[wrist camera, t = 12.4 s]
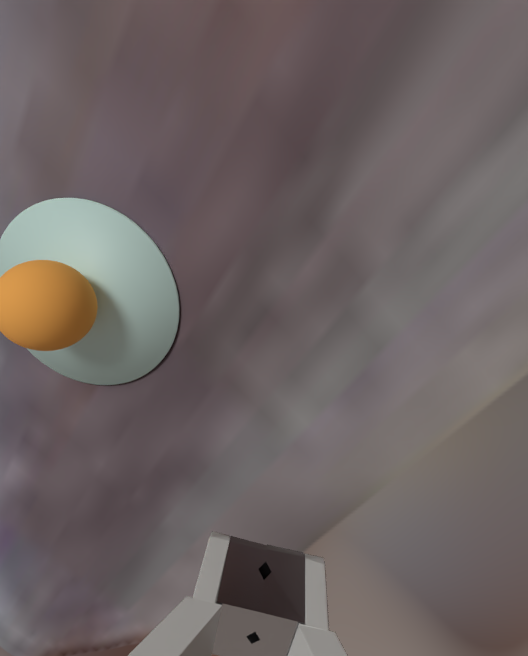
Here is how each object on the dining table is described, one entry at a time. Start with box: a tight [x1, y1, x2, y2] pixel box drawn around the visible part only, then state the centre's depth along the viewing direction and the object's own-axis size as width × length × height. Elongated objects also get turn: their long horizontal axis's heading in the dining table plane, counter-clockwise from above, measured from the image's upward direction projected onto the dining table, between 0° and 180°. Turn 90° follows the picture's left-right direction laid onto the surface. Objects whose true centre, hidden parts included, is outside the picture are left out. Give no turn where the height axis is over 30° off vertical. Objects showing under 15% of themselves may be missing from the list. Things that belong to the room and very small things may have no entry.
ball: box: [0, 260, 98, 351], centre depth 21 cm, size 6×6×6 cm
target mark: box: [0, 198, 180, 385], centre depth 24 cm, size 13×13×1 cm
